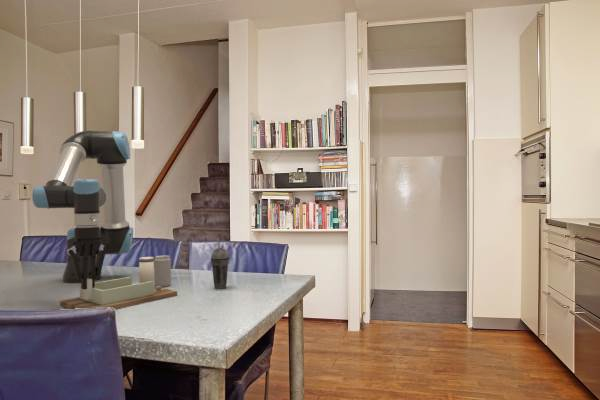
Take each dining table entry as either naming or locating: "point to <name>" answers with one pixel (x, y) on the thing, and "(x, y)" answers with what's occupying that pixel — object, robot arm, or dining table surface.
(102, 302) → the pale green open frame
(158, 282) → the beverage can
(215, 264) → the beverage cup
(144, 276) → the beige rounded cylinder
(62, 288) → the dining table surface
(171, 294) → the board
